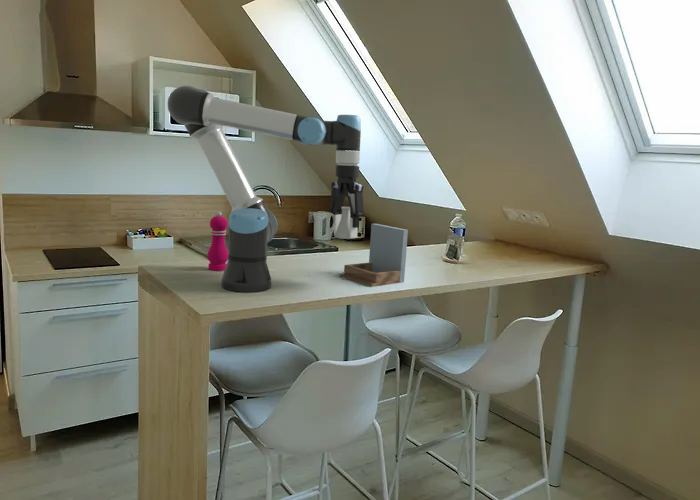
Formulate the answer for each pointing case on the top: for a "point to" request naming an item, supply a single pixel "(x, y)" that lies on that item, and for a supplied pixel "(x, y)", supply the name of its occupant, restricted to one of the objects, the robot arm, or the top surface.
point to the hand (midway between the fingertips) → (345, 235)
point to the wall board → (388, 249)
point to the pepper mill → (218, 244)
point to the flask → (344, 224)
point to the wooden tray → (369, 275)
